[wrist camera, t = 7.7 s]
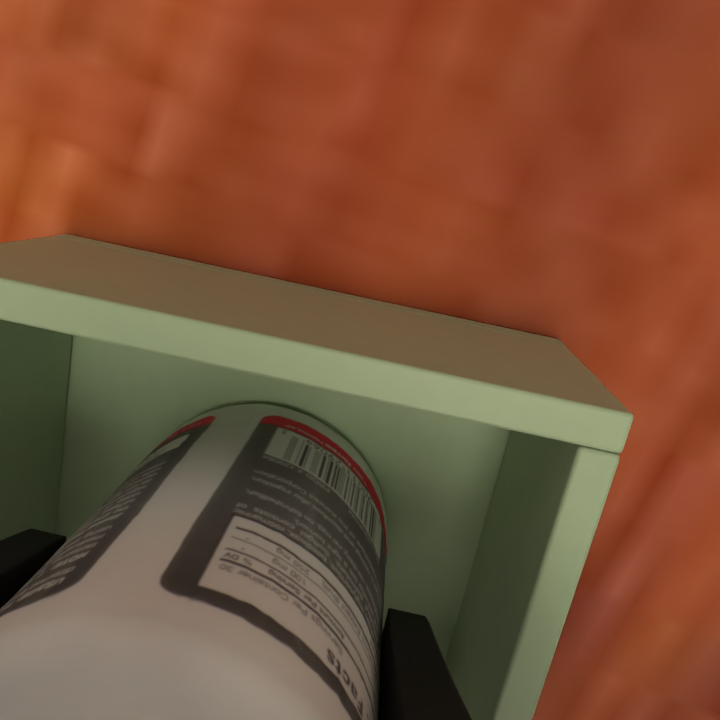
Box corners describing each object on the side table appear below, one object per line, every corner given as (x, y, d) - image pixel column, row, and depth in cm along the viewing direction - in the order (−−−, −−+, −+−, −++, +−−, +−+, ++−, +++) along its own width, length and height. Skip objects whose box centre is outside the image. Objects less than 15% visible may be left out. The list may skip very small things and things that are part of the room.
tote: (442, 742, 16) (454, 954, 11) (32, 649, 16) (-110, 823, 12) (560, 339, 13) (636, 415, 9) (65, 233, 13) (-104, 256, 9)
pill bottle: (171, 635, 15) (-242, 1411, 5) (113, 413, 14) (-557, 930, 4) (406, 614, 14) (402, 1441, 5) (370, 381, 13) (269, 898, 4)
